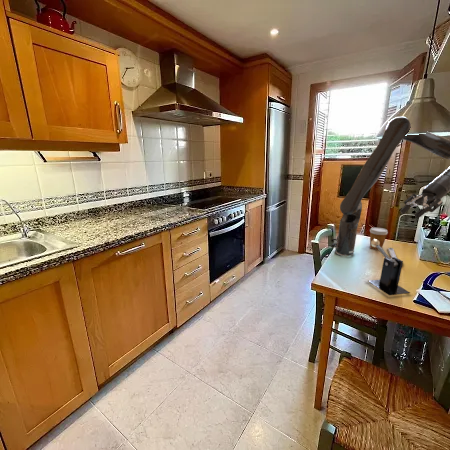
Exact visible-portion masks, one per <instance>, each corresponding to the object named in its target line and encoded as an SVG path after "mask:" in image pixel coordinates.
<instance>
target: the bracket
mask: <svg viewBox="0 0 450 450" xmlns="http://www.w3.org/2000/svg"><path fill="white" fill-rule="evenodd" d="M397 258H398V257H397ZM397 258H395V257H392V259H395V260H396V262H397V263H398V265H397V267H396V268H394V263H395V262H394V261H392V260H390V259H388V258H385V257H383V262H382V268H381V273H380V277H379V279H371V280H368V282H369V283H370V284H371V285H372V286H374V287H377V288H378V289H379V290H380V291H382V292H383V293H385V294H386V295H388V296H396V295H405V294H411V292H410V291H408V290H407V289H405V288H403V287H402V286H400V285H399V284H400V283H399V282H400V279H401V274H402V269H403V264H404V260H402V259H400V258H398V259H397Z"/></svg>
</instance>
